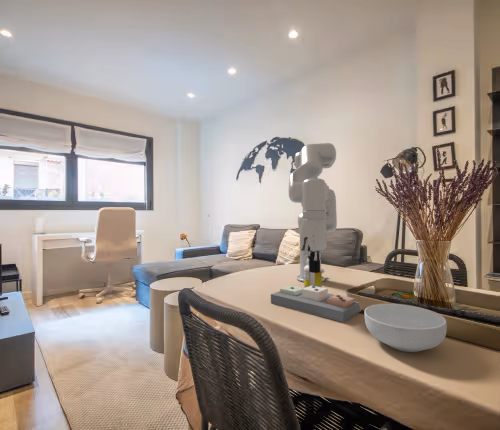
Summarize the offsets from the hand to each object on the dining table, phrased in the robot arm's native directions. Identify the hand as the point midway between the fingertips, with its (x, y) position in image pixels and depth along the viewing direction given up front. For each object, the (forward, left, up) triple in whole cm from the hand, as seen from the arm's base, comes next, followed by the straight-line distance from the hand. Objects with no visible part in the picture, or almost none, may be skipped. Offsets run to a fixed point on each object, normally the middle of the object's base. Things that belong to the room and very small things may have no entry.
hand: (314, 272), depth 92 cm
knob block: (0, -9, -11) cm, 14 cm away
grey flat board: (0, 0, -11) cm, 11 cm away
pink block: (0, +9, -11) cm, 14 cm away
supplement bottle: (-14, -9, -12) cm, 20 cm away
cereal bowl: (+10, +29, -12) cm, 33 cm away
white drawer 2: (0, 0, -9) cm, 10 cm away
